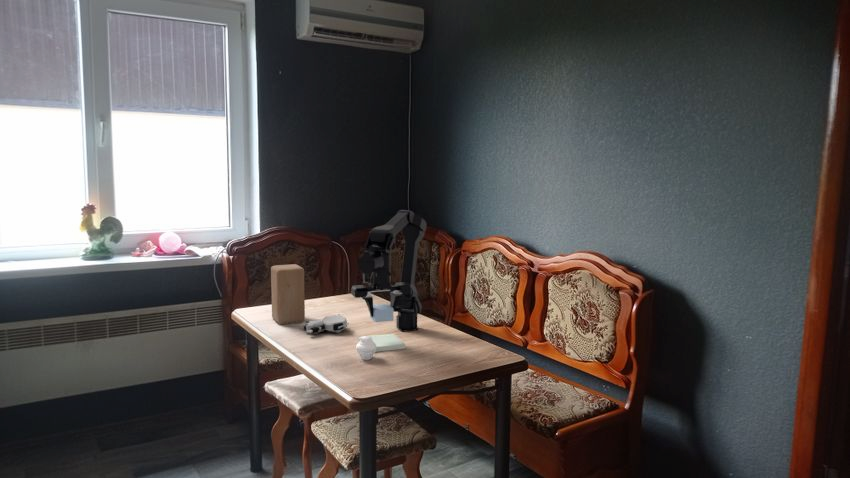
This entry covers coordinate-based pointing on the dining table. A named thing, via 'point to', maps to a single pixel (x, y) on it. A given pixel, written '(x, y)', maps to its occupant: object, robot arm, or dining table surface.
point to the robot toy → (326, 324)
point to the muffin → (366, 348)
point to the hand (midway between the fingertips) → (381, 315)
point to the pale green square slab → (387, 342)
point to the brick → (382, 313)
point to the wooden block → (287, 293)
